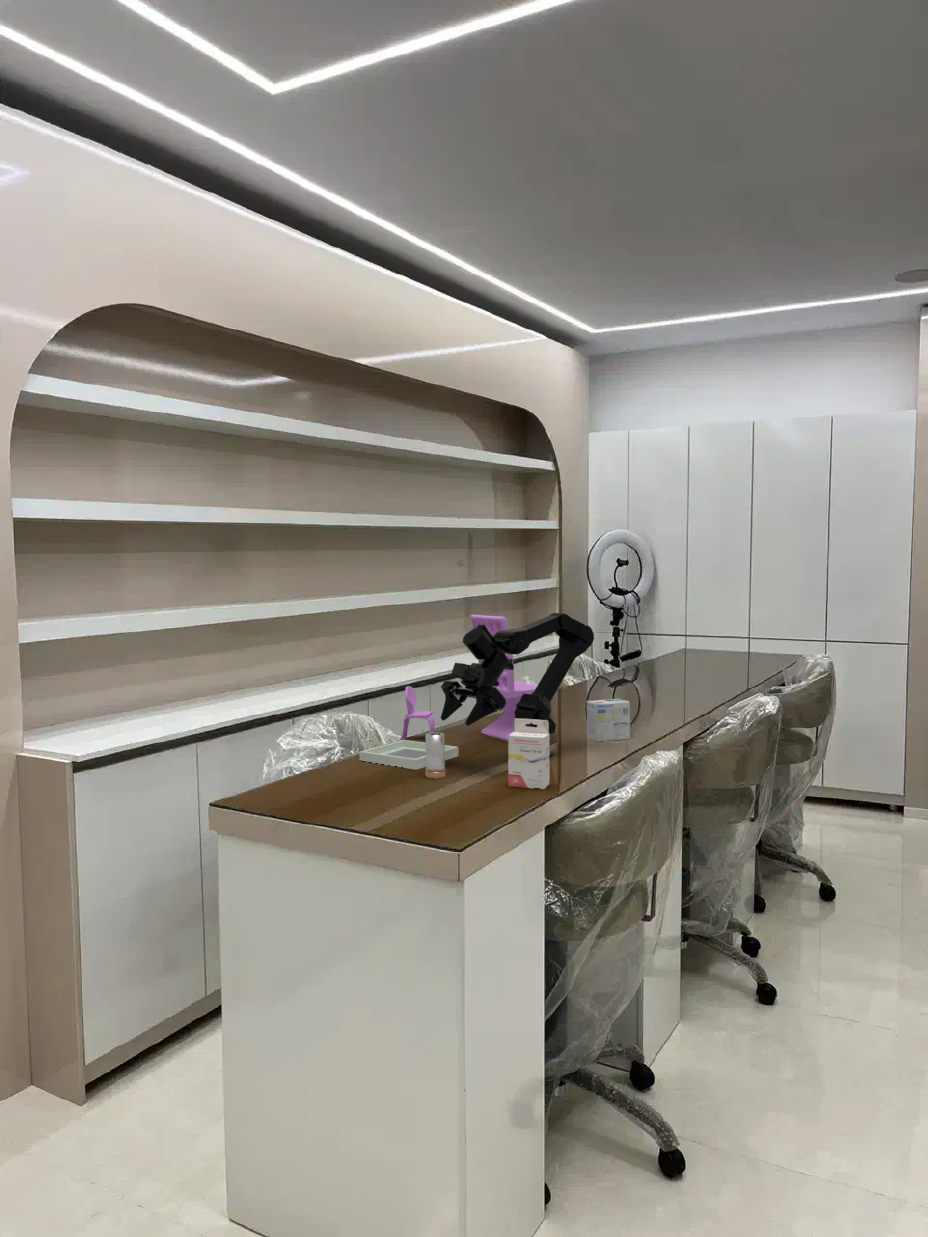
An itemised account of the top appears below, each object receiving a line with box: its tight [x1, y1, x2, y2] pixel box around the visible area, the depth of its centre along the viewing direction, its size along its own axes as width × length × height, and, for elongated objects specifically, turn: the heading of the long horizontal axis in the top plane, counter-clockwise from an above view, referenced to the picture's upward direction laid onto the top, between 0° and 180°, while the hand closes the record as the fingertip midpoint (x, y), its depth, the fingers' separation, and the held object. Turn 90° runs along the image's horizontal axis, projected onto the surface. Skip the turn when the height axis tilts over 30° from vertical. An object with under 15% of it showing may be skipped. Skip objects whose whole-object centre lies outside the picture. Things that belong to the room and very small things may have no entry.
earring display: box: [470, 614, 538, 743], centre depth 259 cm, size 15×17×35 cm
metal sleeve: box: [424, 731, 446, 780], centre depth 212 cm, size 5×5×10 cm
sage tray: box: [358, 739, 459, 771], centre depth 231 cm, size 18×18×2 cm
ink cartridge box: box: [507, 718, 551, 790], centre depth 202 cm, size 9×5×15 cm, turn 71°
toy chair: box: [399, 685, 436, 741], centre depth 257 cm, size 8×9×15 cm
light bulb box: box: [586, 698, 631, 743], centre depth 254 cm, size 11×7×11 cm, turn 108°
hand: (454, 722), depth 215 cm, fingers open, 9 cm apart
